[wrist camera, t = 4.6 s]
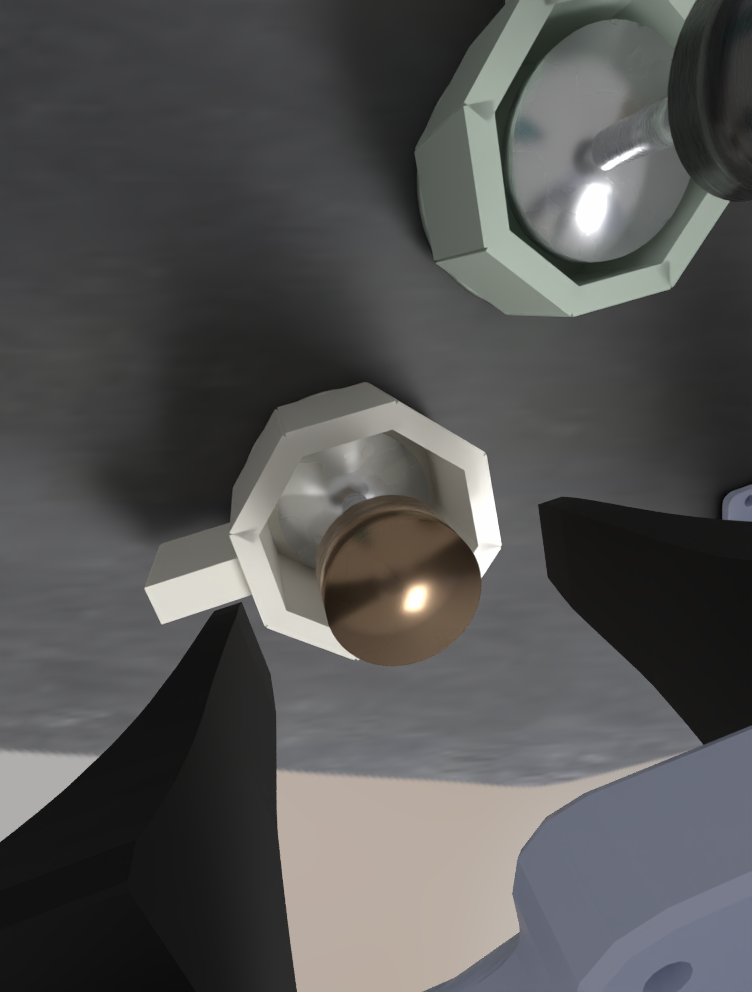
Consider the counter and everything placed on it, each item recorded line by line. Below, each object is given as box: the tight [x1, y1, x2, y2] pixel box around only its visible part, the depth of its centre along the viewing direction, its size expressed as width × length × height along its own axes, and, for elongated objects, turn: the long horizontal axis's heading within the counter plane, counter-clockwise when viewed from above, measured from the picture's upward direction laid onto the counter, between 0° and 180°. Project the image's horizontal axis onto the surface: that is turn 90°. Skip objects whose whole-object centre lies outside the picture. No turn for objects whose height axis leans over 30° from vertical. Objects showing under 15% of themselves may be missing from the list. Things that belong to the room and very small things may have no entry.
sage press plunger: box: [502, 0, 752, 263], centre depth 10 cm, size 5×5×6 cm
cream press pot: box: [144, 382, 502, 660], centre depth 16 cm, size 10×7×4 cm
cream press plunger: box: [277, 432, 481, 666], centre depth 15 cm, size 5×5×6 cm
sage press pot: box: [414, 0, 730, 317], centre depth 14 cm, size 10×7×4 cm
